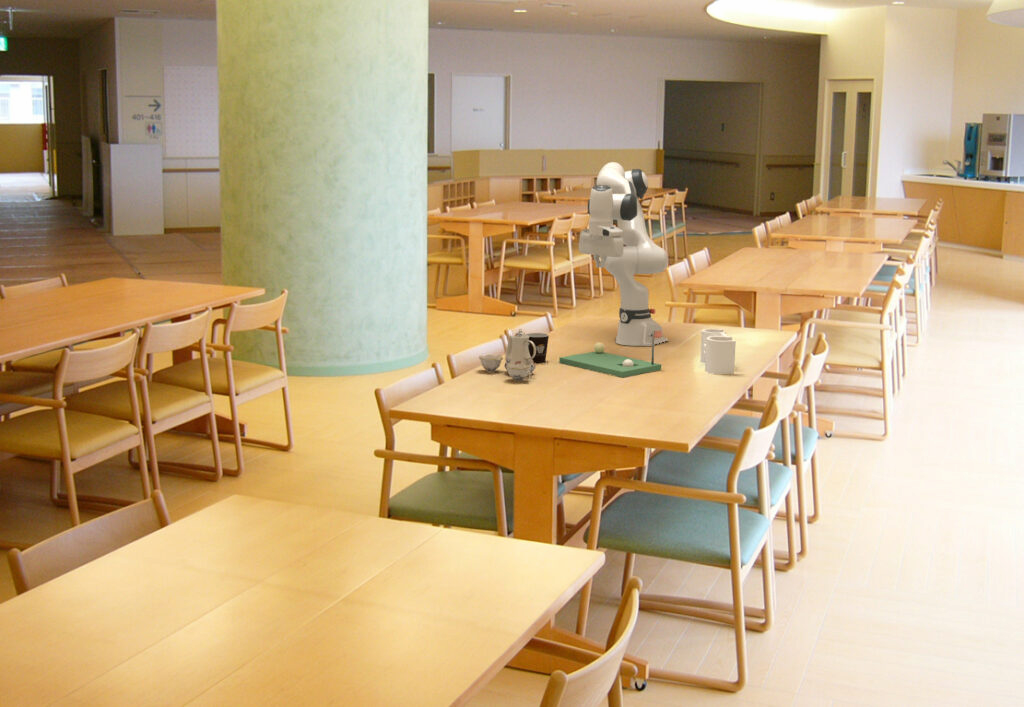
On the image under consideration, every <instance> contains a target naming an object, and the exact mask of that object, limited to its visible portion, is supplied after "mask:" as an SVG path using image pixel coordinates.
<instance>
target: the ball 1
mask: <svg viewBox="0 0 1024 707" xmlns="http://www.w3.org/2000/svg"><path fill="white" fill-rule="evenodd" d="M593 350H594V352H597V353H602V352H605V344H604V343H602V342H596V343H595V344H594V345H593Z"/></svg>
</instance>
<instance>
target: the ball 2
mask: <svg viewBox="0 0 1024 707" xmlns="http://www.w3.org/2000/svg"><path fill="white" fill-rule="evenodd" d="M622 366H624V367H633V366H634V363H633V361H632V360H630V359H626V360H625V361H624V362H623V364H622Z"/></svg>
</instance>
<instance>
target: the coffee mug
mask: <svg viewBox="0 0 1024 707" xmlns="http://www.w3.org/2000/svg"><path fill="white" fill-rule="evenodd" d="M525 335H528V336H529V341H532V342H533V343H534V344H535V347H536V354H535V356H534V358H532V360H533V362H534V363H535V364H544V363H546V361H547V360H546V359H547V354H548V353H547V352H548V345H549V344H548V343H549V337H550V336H549V334H548V333H545V332H531V333H530V332H528V333H525ZM528 343H529V345H528V349H529V353H530V356H531V357H532V356H533V353H534V349H533V346H532V344H531V343H530V342H528Z"/></svg>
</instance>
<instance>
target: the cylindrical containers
mask: <svg viewBox="0 0 1024 707" xmlns="http://www.w3.org/2000/svg"><path fill="white" fill-rule="evenodd" d="M700 340H701V343H700V344H701V345H700V362H702V363H705V364H704V372H705V371H706V372H708V373H707V374H710V373H713V374H712V375H717V374H728V375H734V374H735V360H736V340H735V339H733V336H728V335H727V332H725V331H724V329H723V328H722V329H721V328H720V329H719V328H704V329H702V330H701V339H700ZM700 362H699V363H700ZM702 363H701V364H702ZM706 372H705V373H706Z"/></svg>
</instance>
